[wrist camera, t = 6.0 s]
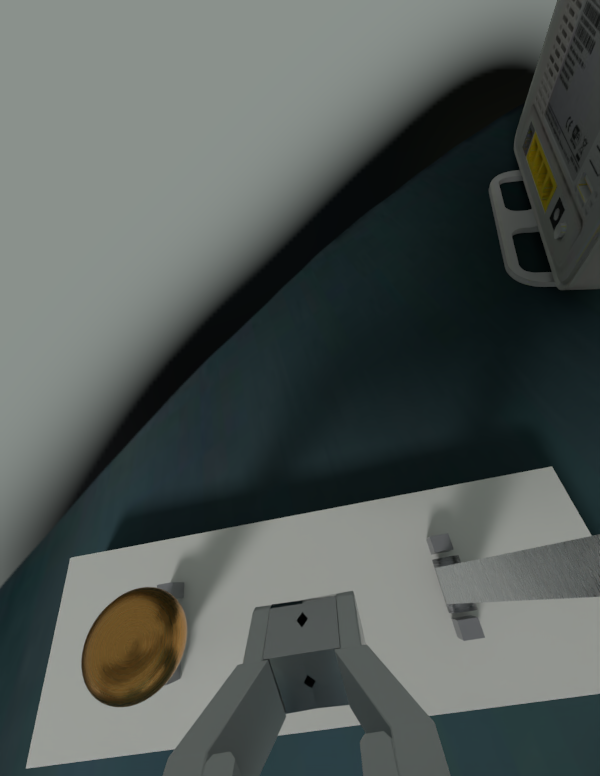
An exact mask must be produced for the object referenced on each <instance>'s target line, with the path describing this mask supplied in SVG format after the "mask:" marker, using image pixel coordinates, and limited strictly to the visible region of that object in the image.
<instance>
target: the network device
mask: <svg viewBox="0 0 600 776" xmlns="http://www.w3.org/2000/svg"><path fill="white" fill-rule="evenodd" d="M514 153H515V156H516V159H517V162H518V165H519V169H520V170H515V171H509V172H505V173H502V174H500V175H498V176H496V177H495V178H494V179H493V180H492V181H491V183H490V186H489V196H490V200H491V205H492V210H493V214H494V219H495V224H496V228H497V233H498V238H499V242H500V247H501V252H502V256H503V261H504V266H505V269H506V272H507V273H508V274H509V275H510V276H511V277H512V278H513V279H515V280H516V281H518V282H520V283H523V284H526V285H530V286H536V287H557V288H558V289H559V290H585V289H600V0H557V3H556V6H555V10H554V13H553V16H552V19H551V22H550V25H549V29H548V32H547V35H546V38H545V42H544V45H543V48H542V51H541V54H540V57H539V61H538V64H537V67H536V70H535V73H534V77H533V80H532V83H531V86H530V89H529V93H528V96H527V99H526V102H525V105H524V109H523V112H522V115H521V118H520V121H519V125H518V128H517V131H516V135H515V140H514ZM515 181H524V185H525V188H526V191H527V194H528V197H529V201H530V204H531V207H532V209H530V210H525V211H512V210H509V209H507V208H506V207H505V206H504V202H503V198H502V194H501V190H500V186H499V185H500V184H502V183H506V182H515ZM531 232H540V236H541V239H542V242H543V245H544V248H545V252H546V255H547V258H548V261H549V264H550V268H551V271H552V272H539V273H533V272H528V271H525V270H523V269H522V268H521V267H520V266H519V263H518V259H517V255H516V251H515V247H514V243H513V239H512V236H513V235H515V234H519V233H531Z"/></svg>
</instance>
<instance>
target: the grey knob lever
mask: <svg viewBox="0 0 600 776" xmlns="http://www.w3.org/2000/svg"><path fill="white" fill-rule="evenodd" d="M432 562H433V565H434V568H435V571H436V574H437V578H438V581H439V584H440V587H441V590H442V593H443V596H444V600H445V603H446V606H447V609H448V612H449V613H462V612H469V611H474V610H477V609H478V608H477V605H476V603H481V602H501V601H522V600H543V599H564V598H584V597H600V534H599V535H594V536H589V537H584V538H580V539H575V540H570V541H565V542H560V543H555V544H550V545H545V546H540V547H536V548H531V549H526V550H521V551H516V552H511V553H506V554H501V555H497V556H492V557H487V558H482V559H477V560H472V561H467V562H462V563H461V561H460V558H459V555H455V556H449V557H443V558H438V559H434V560H432Z"/></svg>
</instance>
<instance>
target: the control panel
mask: <svg viewBox="0 0 600 776" xmlns="http://www.w3.org/2000/svg"><path fill="white" fill-rule="evenodd" d="M589 536H591V534H590V532H589V530H588V529H587V527H586V525H585V523H584V522H583V520H582V518H581V516H580V515H579V513H578V511H577V509H576V508H575V506H574V504H573V502H572V501H571V499H570V497H569V495H568V494H567V492H566V490H565V488H564V487H563V485H562V483H561V481H560V480H559V478H558V476H557V474H556V473H555V471H554V469H553V467H552V466H551V467H546V468H541V469H536V470H530V471H525V472H520V473H515V474H509V475H504V476H499V477H494V478H488V479H483V480H478V481H473V482H467V483H462V484H457V485H451V486H446V487H441V488H436V489H430V490H425V491H420V492H415V493H409V494H404V495H399V496H394V497H388V498H383V499H378V500H373V501H367V502H362V503H357V504H352V505H346V506H341V507H336V508H331V509H325V510H320V511H315V512H309V513H304V514H299V515H294V516H288V517H283V518H278V519H273V520H267V521H262V522H257V523H252V524H246V525H241V526H236V527H231V528H225V529H220V530H215V531H210V532H204V533H199V534H194V535H188V536H183V537H178V538H173V539H167V540H162V541H157V542H152V543H146V544H141V545H136V546H131V547H125V548H120V549H115V550H110V551H104V552H99V553H94V554H89V555H83V556H78V557H73V558H70V562H69V567H68V572H67V576H66V581H65V586H64V591H63V595H62V600H61V605H60V609H59V614H58V619H57V624H56V628H55V633H54V638H53V642H52V647H51V652H50V656H49V661H48V666H47V671H46V675H45V680H44V685H43V689H42V694H41V699H40V703H39V708H38V713H37V718H36V722H35V727H34V732H33V736H32V741H31V746H30V751H29V755H28V760H27V765H26V768H34V767H42V766H49V765H57V764H65V763H72V762H80V761H88V760H95V759H103V758H110V757H118V756H126V755H133V754H141V753H149V752H156V751H164V750H172V749H175V748H176V747H177V746H178V744H179V743H180V741H181V740H182V739H183V737H184V736H185V735H186V733H187V732H188V731H189V729H190V728H191V727H192V725H193V724H194V723H195V721H196V720H197V719H198V717H199V716H200V715H201V713H202V712H203V711H204V709H205V708H206V707H207V705H208V704H209V703H210V701H211V700H212V698H213V697H214V696H215V694H216V693H217V692H218V690H219V689H220V688H221V686H222V685H223V684H224V682H225V681H226V680H227V678H228V677H229V676H230V674H231V673H232V672H233V670H234V669H235V668H236V666H237V665H239V664H243V660H244V654H245V649H246V644H247V639H248V634H249V629H250V624H251V618H252V613H253V611H254V609H255V607H261V606H268V605H272V604H279V603H286V602H293V601H300V600H305V599H310V598H316V597H321V596H327V595H332V594H337V593H343V592H348V591H354V594H355V599H356V603H357V607H358V611H359V615H360V620H361V624H362V629H363V633H364V638H365V643H366V645H368V646H369V647H370V649H371V650H372V651H373V652H374V653H375V654H376V656H377V657H378V658H379V659H380V660H381V661H382V662H383V664H384V665H385V666H386V667H387V668H388V669H389V671H390V672H391V673H392V674H393V675H394V676H395V678H396V679H397V680H398V681H399V682H400V683H401V684H402V686H403V687H404V688H405V689H406V690H407V691H408V693H409V694H410V695H411V696H412V697H413V698H414V700H415V701H416V702H417V703H418V704H419V705H420V706H421V708H422V709H423V710H424V711H425V712H426V713H427V715H428V716H432V715H440V714H447V713H455V712H463V711H470V710H478V709H485V708H493V707H501V706H508V705H516V704H524V703H531V702H539V701H547V700H554V699H562V698H570V697H577V696H585V695H593V694H600V597H584V598H564V599H543V600H522V601H501V602H481V603H476V605H477V608H478V609H477V610H474V611H469V612H462V613H449V612H448V609H447V606H446V603H445V600H444V596H443V593H442V590H441V587H440V584H439V581H438V578H437V574H436V571H435V568H434V565H433V562H432V560H434V559H438V558H443V557H449V556H455V555H459V558H460V561H461V563H462V562H467V561H472V560H477V559H482V558H487V557H492V556H497V555H501V554H506V553H511V552H516V551H521V550H526V549H531V548H536V547H540V546H545V545H550V544H555V543H560V542H565V541H570V540H575V539H580V538H584V537H589ZM142 587H156V588H160V589H163V590H165V591H167V592H169V593H170V594H172V595H173V596H174V597H175V598H176V599H177V600H178V601H179V603H180V604H181V606H182V608H183V610H184V613H185V616H186V621H187V641H186V646H185V650H184V653H183V656H182V659H181V661H180V664H179V665H178V667H177V669H176V671H175V672H174V674H173V675H172V677H171V678H170V679H169V681H168V682H167V683H166V684H165V685H164V686H163V687H162V688H161V689H160V690H159V691H158V692H157V693H155V694H154V695H153V696H152V697H150V698H148V699H147V700H145V701H143V702H141V703H139V704H136V705H133V706H129V707H112V706H108V705H105V704H103V703H101V702H100V701H98V700H96V699H95V698H94V697H93V696H92V695H91V693H90V692H89V690H88V689H87V687H86V685H85V683H84V679H83V676H82V669H81V659H82V651H83V647H84V643H85V640H86V637H87V635H88V633H89V630H90V628H91V627H92V625H93V623H94V621H95V620H96V619H97V617H98V616H99V615H100V613H101V612H102V611H103V610H104V609H105V608H106V607H107V606H108V605H109V604H110V603H111V602H112V601H114V600H115V599H116V598H118V597H119V596H121V595H122V594H124V593H126V592H128V591H131V590H134V589H137V588H142ZM355 725H361V724H360V723H359V721H358V719H357V718H356V716H355V714H354V713H353V711H352V710H351V708H350V705H344V706H335V707H325V708H316V709H311V710H305V711H300V712H294V713H289V714H286V718H285V720H284V723H283V725H282V727H281V729H280V731H279V734H278V736H279V735H287V734H294V733H302V732H309V731H317V730H325V729H332V728H340V727H348V726H355Z"/></svg>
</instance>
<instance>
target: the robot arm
mask: <svg viewBox="0 0 600 776" xmlns="http://www.w3.org/2000/svg"><path fill="white" fill-rule="evenodd" d="M344 705H350V708H351V710H352V711H353V713H354V714H355V716H356V718H357V719H358V721H359V723H360V724H361V726H362V728H363V729H364V731H365V733H366V734H364V736H363V738H362V739H361V741H360V748H361V757H362V767H363V776H450V772H449V769H448V766H447V762H446V759H445V756H444V753H443V749H442V746H441V743H440V739H439V736H438V733H437V729H436V726H435V723H434V722H433V720H432V719H431V718H430V717H429V716H428V715H427V713H426V712H425V711H424V710H423V709H422V708H421V706H420V705H419V704H418V703H417V702H416V701H415V700H414V698H413V697H412V696H411V695H410V694H409V693H408V691H407V690H406V689H405V688H404V687H403V686H402V684H401V683H400V682H399V681H398V680H397V679H396V678H395V676H394V675H393V674H392V673H391V672H390V671H389V669H388V668H387V667H386V666H385V665H384V664H383V662H382V661H381V660H380V659H379V658H378V657H377V656H376V654H375V653H374V652H373V651H372V650H371V649H370V647H369V646H368V645H366V643H365V638H364V633H363V629H362V624H361V620H360V615H359V611H358V607H357V603H356V599H355V594H354V591H348V592H343V593H337V594H332V595H327V596H321V597H316V598H310V599H305V600H300V601H293V602H286V603H279V604H272V605H268V606H261V607H255V609H254V611H253V613H252V618H251V624H250V629H249V634H248V639H247V644H246V649H245V654H244V660H243V664H239V665H237V666H236V668H235V669H234V670H233V672H232V673H231V674H230V676H229V677H228V678H227V680H226V681H225V682H224V684H223V685H222V686H221V688H220V689H219V690H218V692H217V693H216V694H215V696H214V697H213V698H212V700H211V701H210V703H209V704H208V705H207V707H206V708H205V709H204V711H203V712H202V713H201V715H200V716H199V717H198V719H197V720H196V721H195V723H194V724H193V725H192V727H191V728H190V729H189V731H188V732H187V733H186V735H185V736H184V737H183V739H182V740H181V741H180V743H179V744H178V746H177V747H176V748H175V750H174V751H173V752H172V754H171V755H170V756H169V758H168V761H167V764H166V767H165V770H164V773H163V776H259V775H260V773H261V771H262V769H263V766H264V764H265V762H266V760H267V758H268V755H269V753H270V751H271V749H272V747H273V745H274V742H275V740H276V738H277V736H278V734H279V731H280V729H281V727H282V725H283V723H284V720H285V718H286V714H289V713H294V712H300V711H305V710H311V709H316V708H325V707H335V706H344Z"/></svg>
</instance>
